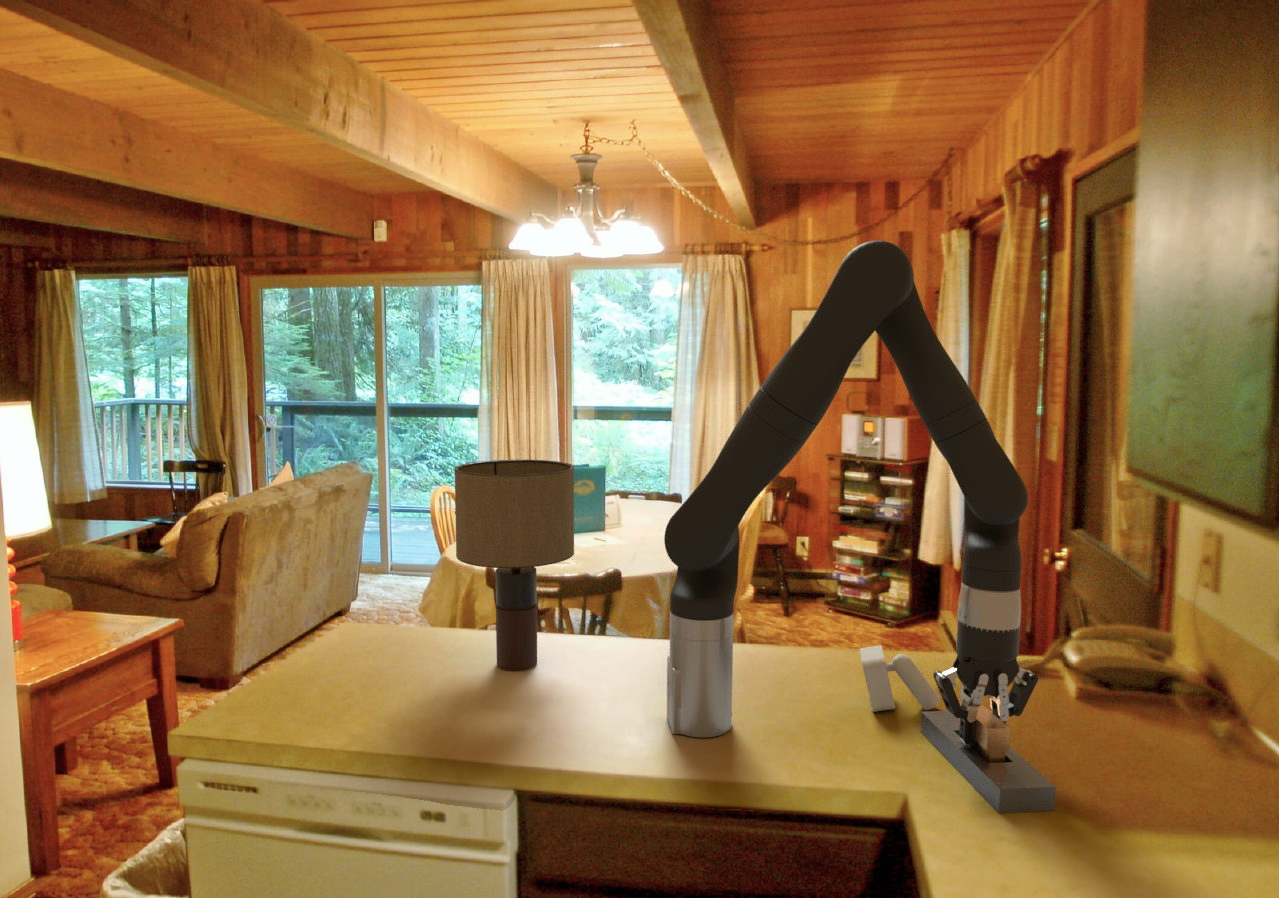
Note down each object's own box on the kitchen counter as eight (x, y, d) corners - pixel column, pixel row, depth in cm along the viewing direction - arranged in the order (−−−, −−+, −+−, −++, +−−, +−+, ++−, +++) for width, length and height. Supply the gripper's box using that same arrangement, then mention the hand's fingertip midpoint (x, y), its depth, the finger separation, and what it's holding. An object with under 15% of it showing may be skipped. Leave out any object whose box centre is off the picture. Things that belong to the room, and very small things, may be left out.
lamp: (568, 686, 139) (567, 475, 135) (446, 685, 139) (441, 474, 135) (579, 644, 159) (578, 459, 155) (471, 643, 159) (468, 459, 155)
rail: (1054, 810, 102) (1055, 786, 101) (998, 812, 101) (999, 789, 101) (966, 729, 124) (967, 709, 123) (920, 731, 123) (921, 711, 122)
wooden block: (1008, 768, 108) (1010, 727, 108) (985, 769, 108) (987, 728, 107) (977, 740, 116) (979, 702, 116) (956, 741, 116) (958, 702, 115)
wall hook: (946, 716, 126) (932, 652, 126) (875, 726, 129) (861, 663, 128) (938, 695, 134) (925, 635, 134) (872, 705, 137) (859, 645, 136)
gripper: (950, 629, 106) (943, 761, 108) (1056, 626, 107) (1048, 756, 109) (924, 611, 113) (918, 734, 115) (1024, 608, 114) (1017, 730, 116)
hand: (981, 744), depth 112 cm, fingers closed on wooden block, 3 cm apart
